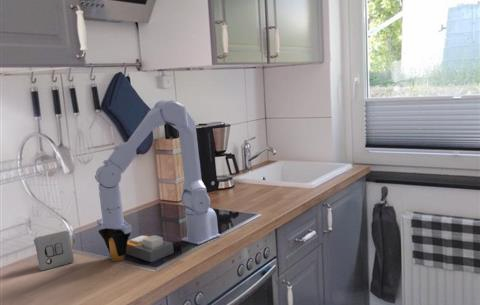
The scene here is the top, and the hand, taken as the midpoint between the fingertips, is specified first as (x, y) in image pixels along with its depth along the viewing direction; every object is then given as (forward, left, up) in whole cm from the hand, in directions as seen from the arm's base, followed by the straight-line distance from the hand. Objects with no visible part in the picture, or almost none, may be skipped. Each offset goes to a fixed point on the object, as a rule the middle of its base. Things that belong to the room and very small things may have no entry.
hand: (117, 253), depth 130 cm
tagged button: (-8, +1, -1) cm, 8 cm away
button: (-8, +7, 0) cm, 10 cm away
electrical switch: (+12, -13, -2) cm, 18 cm away
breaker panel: (-8, +4, -2) cm, 9 cm away
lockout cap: (0, 0, -2) cm, 2 cm away
